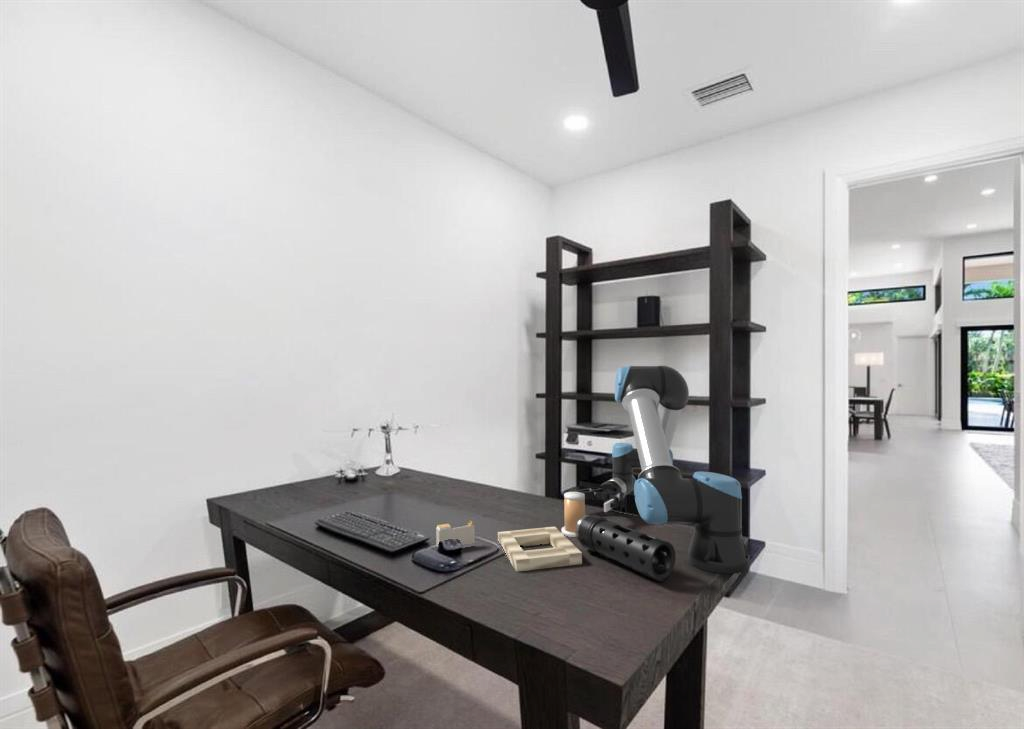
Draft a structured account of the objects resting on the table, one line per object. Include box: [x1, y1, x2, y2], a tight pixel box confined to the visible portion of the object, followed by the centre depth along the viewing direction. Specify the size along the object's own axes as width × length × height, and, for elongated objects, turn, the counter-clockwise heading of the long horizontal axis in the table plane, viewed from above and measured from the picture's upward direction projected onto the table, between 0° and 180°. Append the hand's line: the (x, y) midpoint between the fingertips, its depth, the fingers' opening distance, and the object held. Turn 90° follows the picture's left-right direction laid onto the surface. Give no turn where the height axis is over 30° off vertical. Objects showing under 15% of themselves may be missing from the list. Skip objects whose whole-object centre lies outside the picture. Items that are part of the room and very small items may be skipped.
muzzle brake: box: [575, 514, 677, 583], centre depth 131 cm, size 10×28×10 cm, turn 33°
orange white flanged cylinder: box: [560, 491, 586, 538], centre depth 156 cm, size 8×8×12 cm
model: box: [435, 519, 476, 546], centre depth 145 cm, size 3×11×8 cm, turn 114°
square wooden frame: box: [497, 526, 583, 573], centre depth 140 cm, size 22×18×3 cm
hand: (585, 504), depth 163 cm, fingers open, 13 cm apart
